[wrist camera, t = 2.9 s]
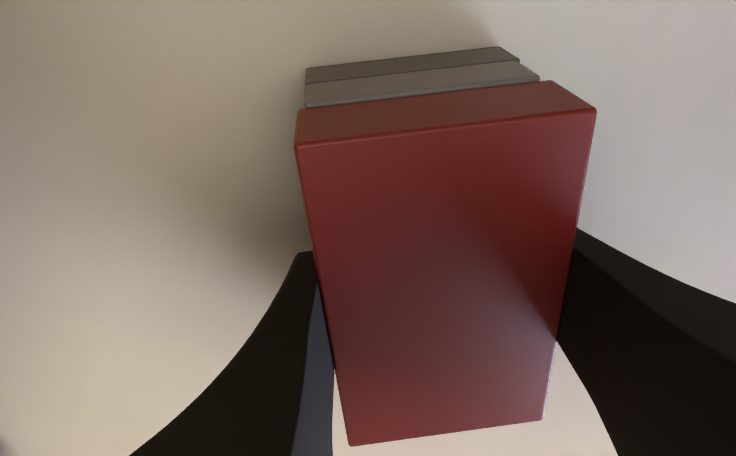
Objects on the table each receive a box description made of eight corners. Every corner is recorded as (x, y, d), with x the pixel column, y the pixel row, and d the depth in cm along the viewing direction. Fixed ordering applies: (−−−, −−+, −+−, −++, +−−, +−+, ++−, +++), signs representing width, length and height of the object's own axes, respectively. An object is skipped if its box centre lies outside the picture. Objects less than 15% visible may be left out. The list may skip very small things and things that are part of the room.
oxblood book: (518, 366, 15) (543, 421, 13) (345, 389, 15) (348, 448, 13) (552, 79, 10) (599, 108, 8) (296, 108, 10) (292, 144, 8)
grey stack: (484, 305, 18) (513, 368, 15) (345, 323, 17) (350, 390, 15) (500, 46, 13) (546, 74, 10) (306, 68, 12) (303, 102, 10)
